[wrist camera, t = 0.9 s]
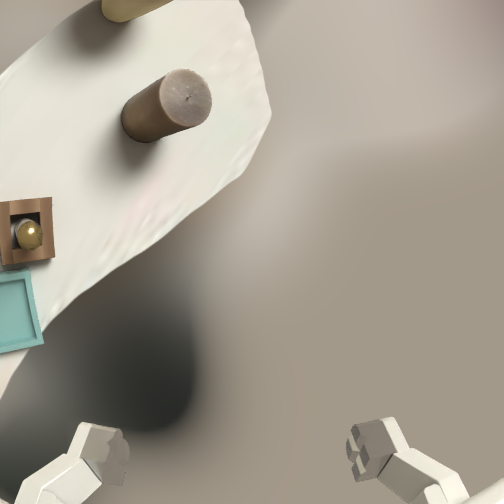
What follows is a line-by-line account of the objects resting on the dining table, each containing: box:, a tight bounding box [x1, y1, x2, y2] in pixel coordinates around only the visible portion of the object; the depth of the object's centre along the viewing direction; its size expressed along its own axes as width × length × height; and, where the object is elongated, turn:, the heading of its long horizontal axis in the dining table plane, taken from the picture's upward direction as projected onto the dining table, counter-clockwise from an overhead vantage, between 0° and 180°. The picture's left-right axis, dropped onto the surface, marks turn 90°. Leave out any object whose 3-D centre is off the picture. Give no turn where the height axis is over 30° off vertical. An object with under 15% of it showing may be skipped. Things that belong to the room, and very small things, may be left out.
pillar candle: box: [122, 69, 212, 143], centre depth 44 cm, size 10×10×15 cm
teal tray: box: [0, 268, 44, 353], centre depth 34 cm, size 12×12×2 cm
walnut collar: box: [0, 197, 55, 265], centre depth 36 cm, size 9×9×3 cm
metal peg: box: [15, 218, 43, 251], centre depth 33 cm, size 4×4×12 cm
